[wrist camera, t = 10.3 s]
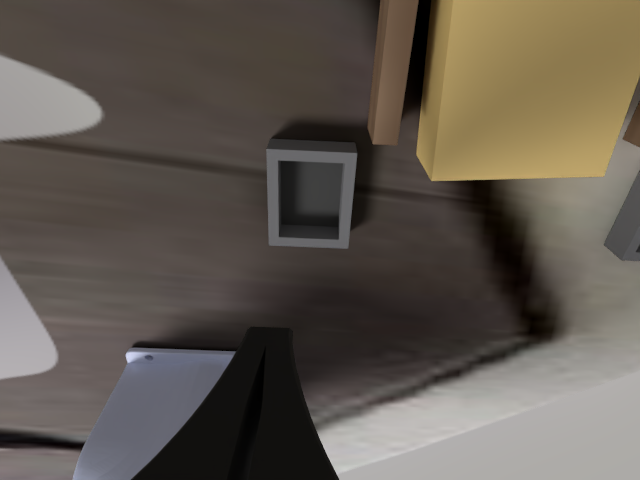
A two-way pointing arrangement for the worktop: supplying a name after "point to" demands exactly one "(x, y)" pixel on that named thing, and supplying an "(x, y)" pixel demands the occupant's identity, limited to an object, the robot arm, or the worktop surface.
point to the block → (526, 87)
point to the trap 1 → (310, 192)
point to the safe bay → (393, 72)
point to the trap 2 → (627, 227)
